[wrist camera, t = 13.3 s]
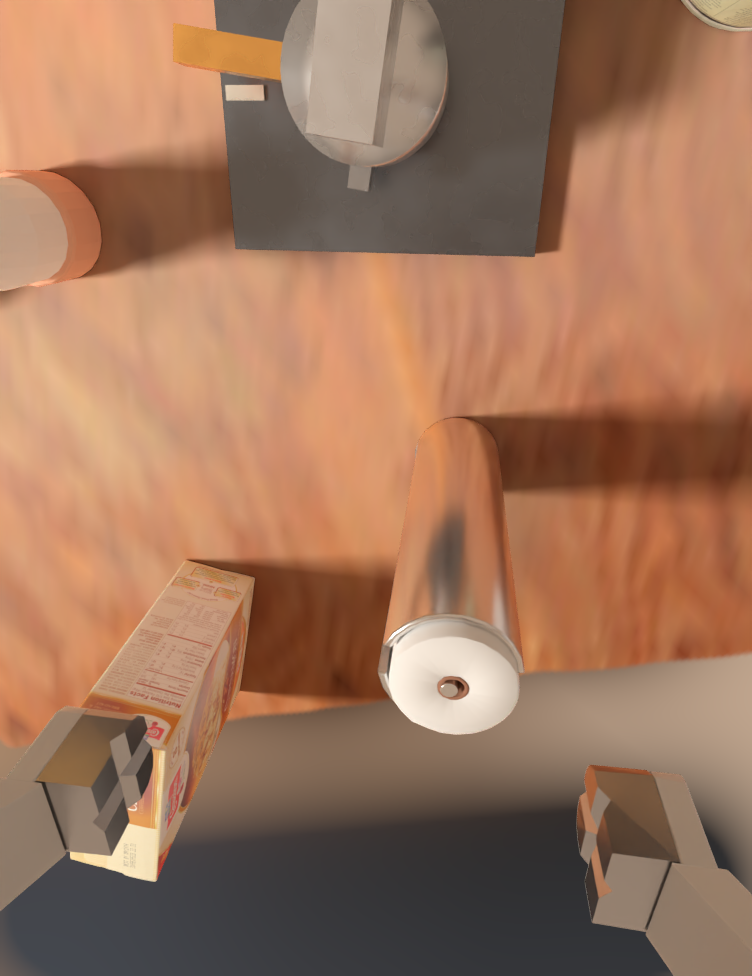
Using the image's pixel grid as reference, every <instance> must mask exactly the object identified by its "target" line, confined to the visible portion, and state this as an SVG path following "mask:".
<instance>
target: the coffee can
mask: <svg viewBox="0 0 752 976" xmlns="http://www.w3.org/2000/svg"><path fill="white" fill-rule="evenodd" d="M681 1H682V2H683V4H684V5H685V6H686V8H687V9H688V10H689V11H690V12H691V13H692V14H694V15H695V16H696V17H697V18H699V19H700V20H701V21H703V22H705V23H706V24H708V25H710V26H712V27H715V28H718V29H723V30H728V31H735V32H743V31H752V0H681Z"/></svg>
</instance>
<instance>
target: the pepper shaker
mask: <svg viewBox="0 0 752 976" xmlns="http://www.w3.org/2000/svg"><path fill="white" fill-rule="evenodd" d="M101 243H102V238H101V229H100V223H99V220H98V217H97V215H96V212H95V210H94V207H93V206H92V204H91V203H90V201H89V200H88V198H87V197H86V195H85V194H84V193H83V191H82V190H80V189H79V188H78V187H77V186H76V185H75V184H74V183H72V182H71V181H70V180H69V179H67V178H65V177H62V176H60V175H58V174H56V173H54V172H46V171H34V170H6V171H2V172H0V291H6V290H11V289H15V288H19V287H22V286H25V285H30V286H38V287H42V286H47V285H51V284H55V283H59V282H63V281H66V280H70V279H74V278H78V277H81V276H82V275H84V274H85V273H87V272H88V271H89V270H91V269H92V267H93V266H94V264H95V262H96V261H97V259H98V257H99V253H100V248H101Z"/></svg>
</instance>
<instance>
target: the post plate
mask: <svg viewBox="0 0 752 976" xmlns="http://www.w3.org/2000/svg"><path fill="white" fill-rule="evenodd" d="M427 1H428V2H429V4H430V5H431V7H432V8H433V11H434V13H435V15H436V17H437V19H438V21H439V24H440V27H441V30H442V33H443V38H444V42H445V48H446V54H447V61H448V70H449V88H448V96H447V101H446V105H445V109H444V112H443V114H442V117H441V120H440V122H439V124H438V126H437V128H436V129H435V131H434V132H433V134H432V136H431V137H430V138H429V140H428V141H427V142H426V143H425V144H424V145H423V146H422V147H421V148H420V149H419V150H418V151H417V152H416V153H414V154H413V155H411V156H410V157H409V158H407V159H405V160H403V161H401V162H399V163H396V164H393V165H389V166H384V167H374V173H373V180H372V187H371V191H369V192H368V191H362V190H357V189H351V188H347V186H348V178H349V170H350V165H349V164H345V163H341V162H338V161H336V160H334V159H331V158H329V157H328V156H326V155H324V154H323V153H321V152H320V151H319V150H318V149H316V148H315V147H314V146H313V145H312V144H311V143H310V142H309V141H308V140H307V139H306V138H305V137H304V135H303V134H302V133H301V131H300V130H299V129H298V127H297V125H296V124H295V122H294V120H293V118H292V116H291V114H290V112H289V109H288V107H287V104H286V100H285V97H284V93H283V88H282V83H278V82H273V81H267V80H261V79H255V78H250V77H244V76H238V75H233V74H227V73H221V72H220V74H221V86H222V97H223V109H224V120H225V132H226V144H227V155H228V167H229V178H230V190H231V201H232V213H233V225H234V236H235V248H236V249H254V250H293V251H332V252H370V253H409V254H447V255H486V256H525V257H535V249H536V240H537V232H538V224H539V215H540V207H541V199H542V190H543V182H544V173H545V165H546V157H547V148H548V140H549V132H550V123H551V115H552V107H553V98H554V90H555V81H556V73H557V65H558V56H559V48H560V40H561V31H562V23H563V15H564V6H565V0H427ZM299 2H300V0H214V5H215V16H216V28H217V31H222V32H227V33H233V34H239V35H245V36H251V37H256V38H262V39H268V40H274V41H280V42H283V39H284V35H285V31H286V28H287V26H288V23H289V20H290V18H291V16H292V14H293V12H294V10H295V8H296V6H297V5H298V3H299Z"/></svg>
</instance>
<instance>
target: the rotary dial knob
mask: <svg viewBox="0 0 752 976" xmlns="http://www.w3.org/2000/svg"><path fill="white" fill-rule="evenodd" d="M173 61H174V62H176V63H179V64H181V65H184V66H187V67H193V68H199V69H204V70H210V71H216V72H221V73H227V74H233V75H238V76H244V77H250V78H255V79H261V80H267V81H273V82H278V83H282V88H283V93H284V97H285V100H286V104H287V107H288V109H289V112H290V114H291V116H292V118H293V120H294V122H295V124H296V125H297V127H298V129H299V130H300V131H301V133H302V134H303V135H304V137H305V138H306V139H307V140H308V141H309V142H310V143H311V144H312V145H313V146H314V147H315V148H316V149H318V150H319V151H320V152H321V153H323V154H324V155H326V156H328V157H329V158H331V159H334V160H336V161H338V162H341V163H345V164H349V165H350V170H349V178H348V186H347V188H351V189H357V190H362V191H368V192H369V191H371V187H372V180H373V173H374V167H384V166H389V165H393V164H396V163H399V162H401V161H403V160H405V159H407V158H409V157H410V156H411V155H413V154H414V153H416V152H417V151H418V150H419V149H420V148H421V147H422V146H423V145H424V144H425V143H426V142H427V141H428V140H429V138H430V137H431V136H432V134H433V132H434V131H435V129H436V128H437V126H438V124H439V122H440V120H441V117H442V114H443V112H444V109H445V105H446V101H447V96H448V88H449V70H448V61H447V54H446V48H445V42H444V38H443V33H442V30H441V27H440V24H439V21H438V19H437V17H436V15H435V13H434V11H433V8H432V7H431V5H430V4H429V2H428V1H427V0H300V2H299V3H298V5H297V6H296V8H295V10H294V12H293V14H292V16H291V18H290V20H289V23H288V26H287V28H286V31H285V35H284V39H283V42H280V41H274V40H268V39H262V38H256V37H251V36H245V35H239V34H233V33H227V32H222V31H216V30H210V29H204V28H199V27H193V26H187V25H181V24H175V23H173Z"/></svg>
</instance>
